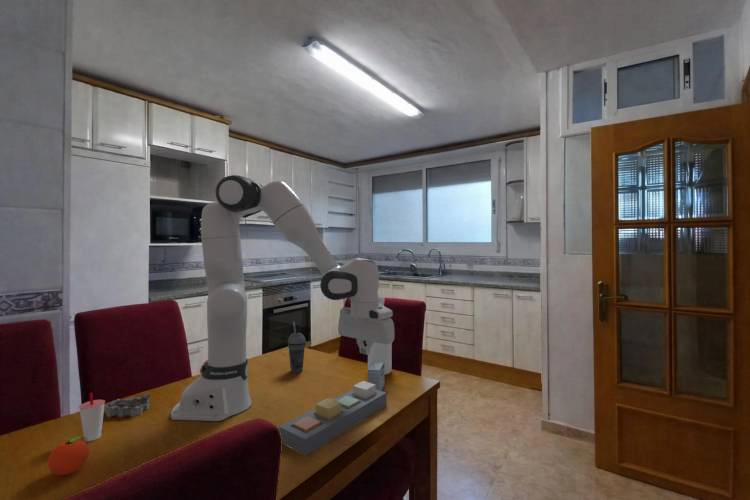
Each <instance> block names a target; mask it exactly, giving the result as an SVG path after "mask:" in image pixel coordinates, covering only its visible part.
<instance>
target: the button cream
mask: <svg viewBox="0 0 750 500" xmlns="http://www.w3.org/2000/svg"><path fill="white" fill-rule="evenodd" d="M352 386H353V387H352V390H353V395H354V396H357V397H360V398H363V399H368V398H370V397H372V396H373V395H375V394H376V385H375V384H372V383H368V381H366V380H365V381H364V380H362V381H360V382H358V383H356V384H354V385H352Z"/></svg>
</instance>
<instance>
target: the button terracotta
mask: <svg viewBox="0 0 750 500" xmlns="http://www.w3.org/2000/svg"><path fill="white" fill-rule="evenodd" d="M320 425H321V422H320V421H318V420H316V419H314V418H311V417H309V416H306V417H304V418H302V419H300V420H299V421H297V422H295V423H293V427H294V428H296V429H298V430H300V431H302V432H304V433H307V432H309V431H311V430H313V429H315V428H316V427H318V426H320Z"/></svg>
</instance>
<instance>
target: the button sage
mask: <svg viewBox="0 0 750 500" xmlns="http://www.w3.org/2000/svg"><path fill="white" fill-rule="evenodd" d="M337 401H338V402H341V407H343V408H346V409H350V408H352V407H354V406H356V405H357V404H359V400H358V399H355V398H352V397H349V396H345V397H343V398H341V399H339V400H337Z"/></svg>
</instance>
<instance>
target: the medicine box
mask: <svg viewBox="0 0 750 500" xmlns="http://www.w3.org/2000/svg"><path fill="white" fill-rule="evenodd" d="M367 382H368V383H372V384H375V385H376V389H377V390H380V391H383V390H384V389H385V375H384V363H372V365H371V366H370V368H369V370H368V369H367ZM383 392H384V391H383Z"/></svg>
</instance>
